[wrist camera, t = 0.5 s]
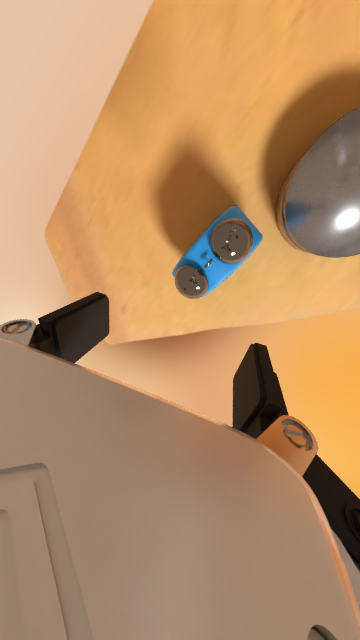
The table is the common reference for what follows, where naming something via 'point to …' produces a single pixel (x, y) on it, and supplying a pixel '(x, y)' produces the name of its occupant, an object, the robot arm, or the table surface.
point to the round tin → (325, 194)
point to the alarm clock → (216, 254)
